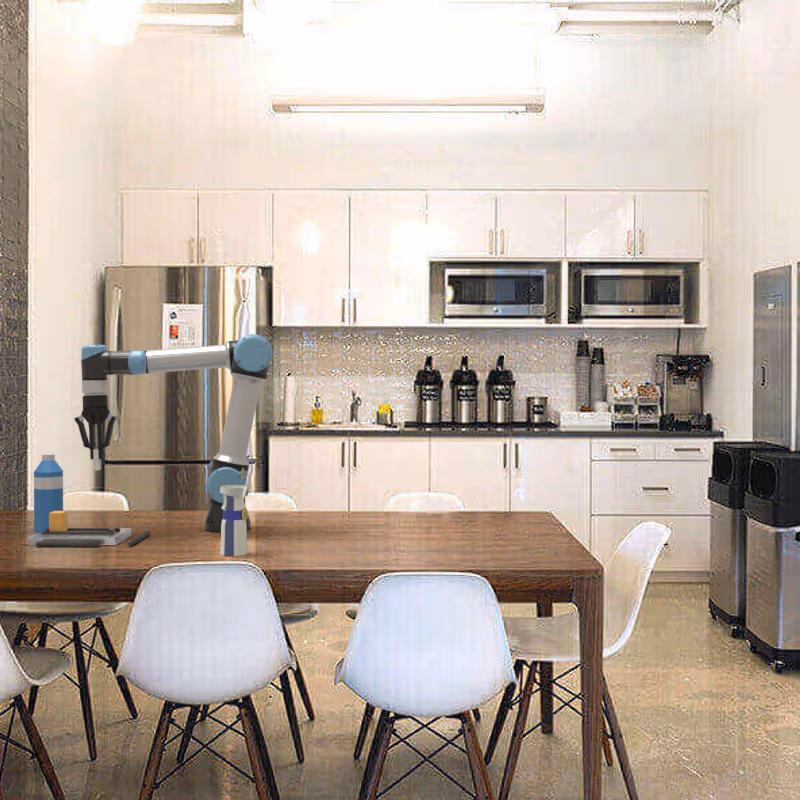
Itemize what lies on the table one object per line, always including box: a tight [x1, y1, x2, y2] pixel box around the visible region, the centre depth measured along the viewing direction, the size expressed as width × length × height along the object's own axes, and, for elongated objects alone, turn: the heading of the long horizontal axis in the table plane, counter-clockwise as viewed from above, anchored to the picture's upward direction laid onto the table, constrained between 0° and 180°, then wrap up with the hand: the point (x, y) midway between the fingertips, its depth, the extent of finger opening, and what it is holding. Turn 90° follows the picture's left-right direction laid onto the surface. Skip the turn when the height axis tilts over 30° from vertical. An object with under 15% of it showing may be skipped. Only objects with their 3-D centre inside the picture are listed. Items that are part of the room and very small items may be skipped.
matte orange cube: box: [49, 510, 69, 531], centre depth 311 cm, size 4×5×6 cm
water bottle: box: [33, 453, 64, 533], centre depth 331 cm, size 9×9×25 cm
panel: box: [27, 526, 132, 546], centre depth 311 cm, size 26×18×4 cm
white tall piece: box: [219, 468, 249, 557], centre depth 289 cm, size 8×9×25 cm
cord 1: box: [35, 541, 101, 548], centre depth 300 cm, size 19×2×2 cm, turn 90°
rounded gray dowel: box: [127, 530, 151, 547], centre depth 311 cm, size 21×2×2 cm, turn 0°
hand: (97, 469), depth 316 cm, fingers closed
